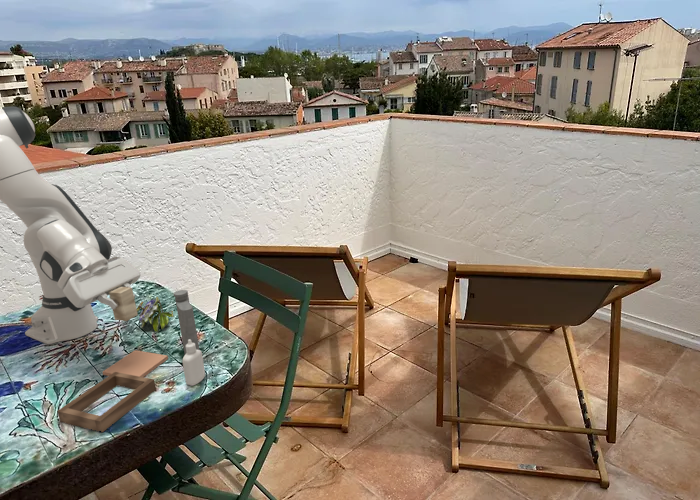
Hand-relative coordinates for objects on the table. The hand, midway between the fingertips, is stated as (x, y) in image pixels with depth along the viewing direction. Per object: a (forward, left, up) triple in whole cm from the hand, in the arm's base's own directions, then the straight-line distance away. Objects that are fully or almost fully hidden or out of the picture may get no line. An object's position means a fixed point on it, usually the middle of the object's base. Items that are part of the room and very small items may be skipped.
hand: (124, 302), depth 123 cm
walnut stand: (+6, -16, -20) cm, 26 cm away
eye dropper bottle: (+20, -1, -20) cm, 28 cm away
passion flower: (-14, +23, -20) cm, 34 cm away
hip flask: (+10, +10, -20) cm, 25 cm away
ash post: (0, 0, -4) cm, 4 cm away
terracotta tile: (-1, 0, -20) cm, 20 cm away
